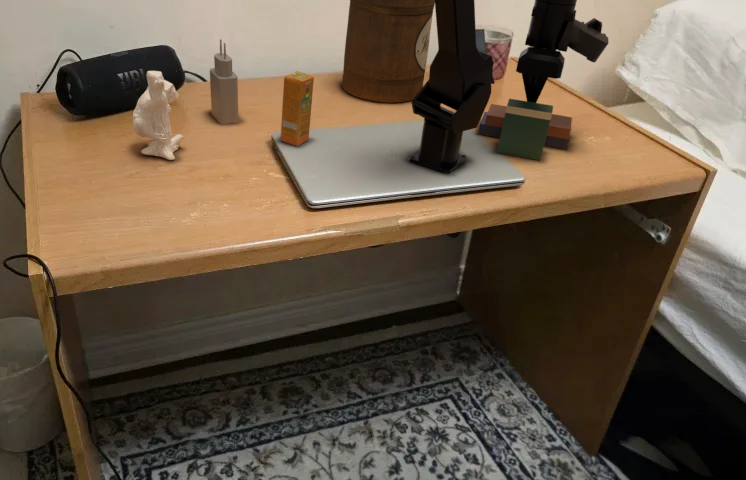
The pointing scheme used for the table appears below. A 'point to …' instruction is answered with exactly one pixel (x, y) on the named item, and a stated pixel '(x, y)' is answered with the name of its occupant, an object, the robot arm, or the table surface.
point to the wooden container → (387, 48)
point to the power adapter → (224, 89)
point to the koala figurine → (157, 116)
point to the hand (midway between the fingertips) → (531, 105)
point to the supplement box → (296, 108)
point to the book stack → (555, 135)
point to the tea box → (524, 129)
